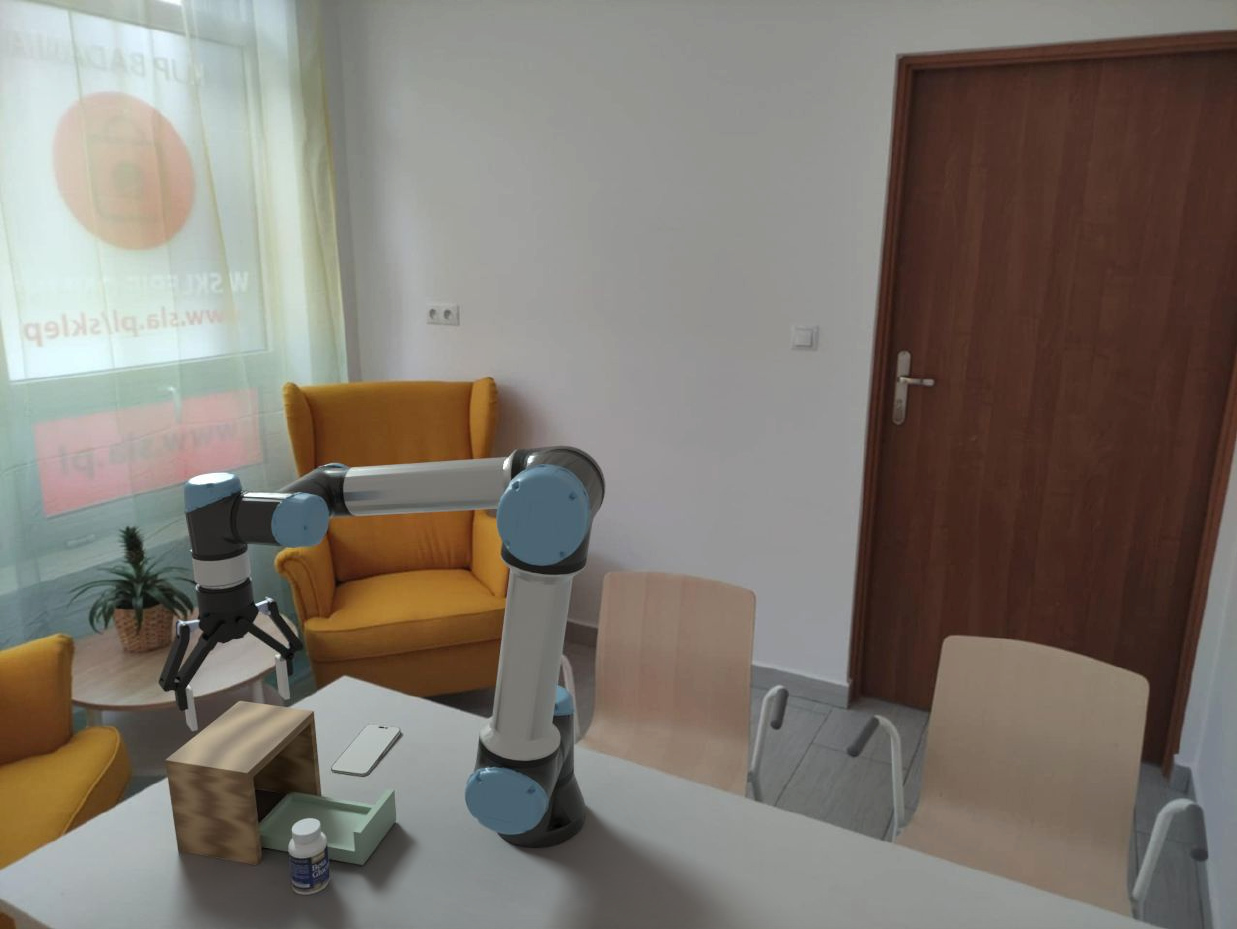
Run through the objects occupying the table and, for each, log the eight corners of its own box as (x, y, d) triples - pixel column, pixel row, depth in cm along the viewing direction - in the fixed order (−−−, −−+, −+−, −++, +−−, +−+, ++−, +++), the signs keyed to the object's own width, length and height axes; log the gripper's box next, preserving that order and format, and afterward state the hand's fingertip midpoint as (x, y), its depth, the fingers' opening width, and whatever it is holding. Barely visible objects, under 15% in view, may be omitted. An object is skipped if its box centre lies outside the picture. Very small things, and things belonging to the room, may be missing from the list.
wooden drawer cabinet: (321, 794, 154) (313, 711, 150) (257, 865, 137) (247, 773, 133) (249, 783, 157) (239, 700, 153) (178, 850, 140) (165, 760, 136)
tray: (396, 820, 147) (394, 789, 146) (363, 865, 137) (360, 832, 136) (291, 802, 152) (288, 773, 150) (251, 845, 141) (247, 813, 140)
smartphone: (328, 769, 161) (367, 723, 175) (328, 775, 161) (367, 728, 175) (366, 774, 159) (402, 727, 173) (366, 780, 160) (403, 732, 174)
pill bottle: (318, 899, 131) (313, 841, 128) (284, 893, 132) (278, 836, 129) (337, 873, 136) (332, 817, 133) (304, 868, 137) (299, 812, 134)
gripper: (297, 552, 141) (310, 675, 147) (122, 594, 126) (143, 730, 131) (317, 566, 136) (329, 693, 141) (136, 611, 120) (157, 752, 126)
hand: (239, 711), depth 136 cm, fingers open, 13 cm apart
